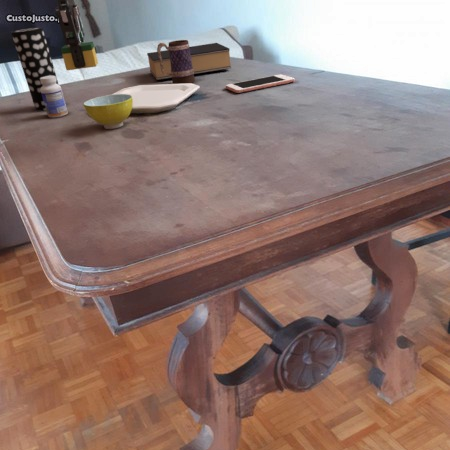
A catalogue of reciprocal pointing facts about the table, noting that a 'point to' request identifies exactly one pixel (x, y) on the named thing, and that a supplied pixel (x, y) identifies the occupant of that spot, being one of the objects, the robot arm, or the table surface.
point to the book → (193, 60)
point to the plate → (158, 96)
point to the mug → (178, 61)
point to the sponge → (87, 52)
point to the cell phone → (259, 83)
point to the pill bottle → (53, 97)
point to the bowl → (110, 109)
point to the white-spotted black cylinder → (34, 61)
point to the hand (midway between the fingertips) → (81, 64)
